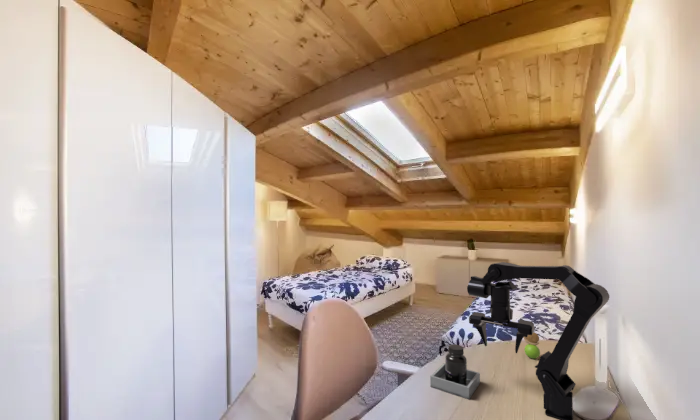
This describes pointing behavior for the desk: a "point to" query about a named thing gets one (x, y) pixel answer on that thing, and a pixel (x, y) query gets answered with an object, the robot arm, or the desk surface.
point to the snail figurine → (532, 346)
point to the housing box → (454, 388)
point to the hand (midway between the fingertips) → (500, 349)
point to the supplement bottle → (456, 365)
